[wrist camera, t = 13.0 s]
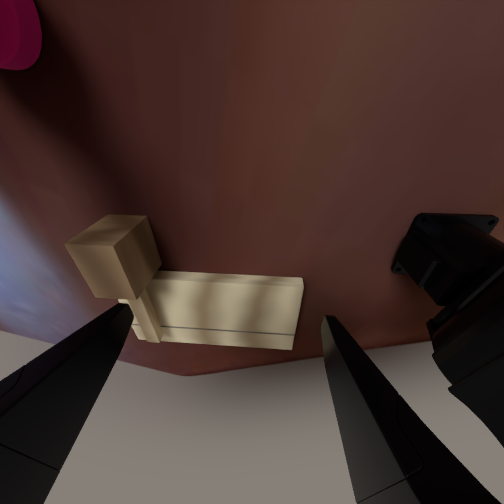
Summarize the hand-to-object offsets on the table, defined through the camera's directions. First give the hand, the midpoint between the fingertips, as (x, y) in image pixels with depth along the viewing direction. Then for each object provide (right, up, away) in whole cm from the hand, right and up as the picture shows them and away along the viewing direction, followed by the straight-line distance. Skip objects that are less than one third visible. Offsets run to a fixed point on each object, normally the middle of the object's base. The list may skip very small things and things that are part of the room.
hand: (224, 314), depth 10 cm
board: (-4, -4, +18) cm, 19 cm away
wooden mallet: (-11, 0, +16) cm, 19 cm away
